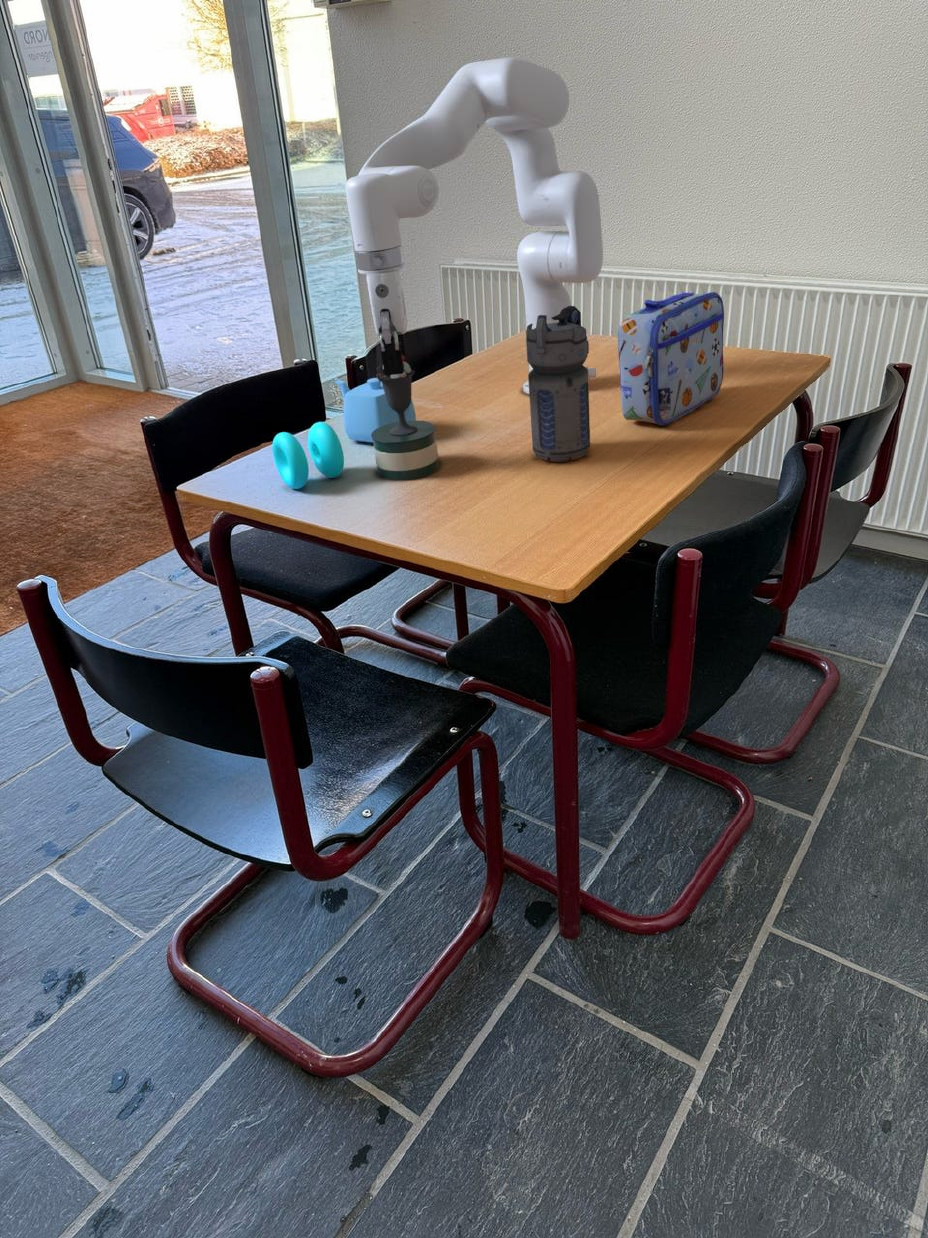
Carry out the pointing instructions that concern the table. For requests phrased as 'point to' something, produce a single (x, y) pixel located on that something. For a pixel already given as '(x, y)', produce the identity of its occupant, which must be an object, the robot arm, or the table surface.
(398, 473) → the tin
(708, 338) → the lunch box
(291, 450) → the donuts
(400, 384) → the sundae
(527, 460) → the table surface
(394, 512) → the table surface
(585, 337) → the beverage bottle
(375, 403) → the teapot
